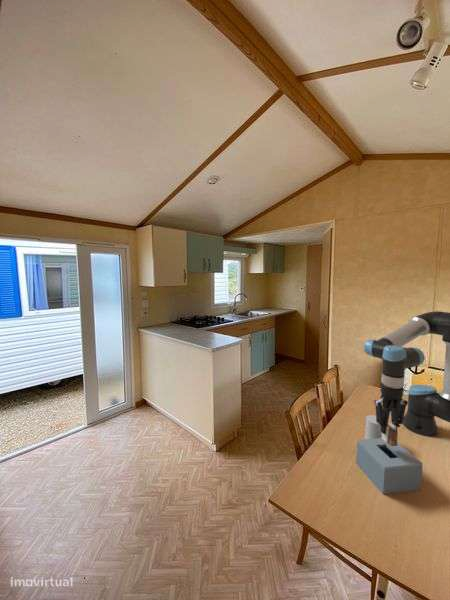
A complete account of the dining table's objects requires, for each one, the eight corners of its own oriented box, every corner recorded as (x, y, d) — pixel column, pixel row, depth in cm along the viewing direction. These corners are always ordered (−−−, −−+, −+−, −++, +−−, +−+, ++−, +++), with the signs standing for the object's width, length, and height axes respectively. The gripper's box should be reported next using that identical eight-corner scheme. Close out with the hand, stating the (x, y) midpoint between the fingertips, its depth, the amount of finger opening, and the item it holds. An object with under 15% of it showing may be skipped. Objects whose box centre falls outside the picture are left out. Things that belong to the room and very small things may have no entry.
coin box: (389, 460, 115) (390, 437, 114) (420, 489, 99) (422, 463, 98) (356, 463, 113) (357, 440, 112) (382, 494, 97) (384, 467, 96)
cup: (386, 448, 122) (388, 425, 121) (368, 446, 124) (369, 423, 123) (380, 438, 130) (381, 415, 129) (362, 436, 132) (364, 414, 131)
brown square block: (385, 436, 108) (386, 422, 107) (396, 445, 102) (397, 431, 101) (380, 436, 107) (381, 423, 107) (391, 446, 101) (392, 432, 101)
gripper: (402, 380, 107) (398, 433, 109) (367, 381, 105) (364, 435, 107) (417, 387, 99) (413, 444, 102) (381, 390, 97) (377, 447, 100)
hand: (388, 440), depth 104 cm, fingers closed on brown square block, 2 cm apart
